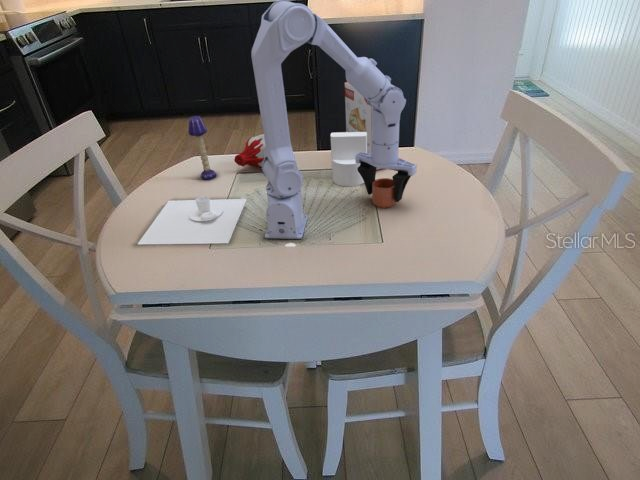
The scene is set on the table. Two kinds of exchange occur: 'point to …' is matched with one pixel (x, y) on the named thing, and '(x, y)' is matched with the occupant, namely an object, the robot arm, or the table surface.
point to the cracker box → (358, 114)
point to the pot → (383, 192)
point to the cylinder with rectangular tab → (347, 157)
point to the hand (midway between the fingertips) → (384, 196)
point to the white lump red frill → (252, 152)
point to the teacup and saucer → (195, 222)
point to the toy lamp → (201, 145)
